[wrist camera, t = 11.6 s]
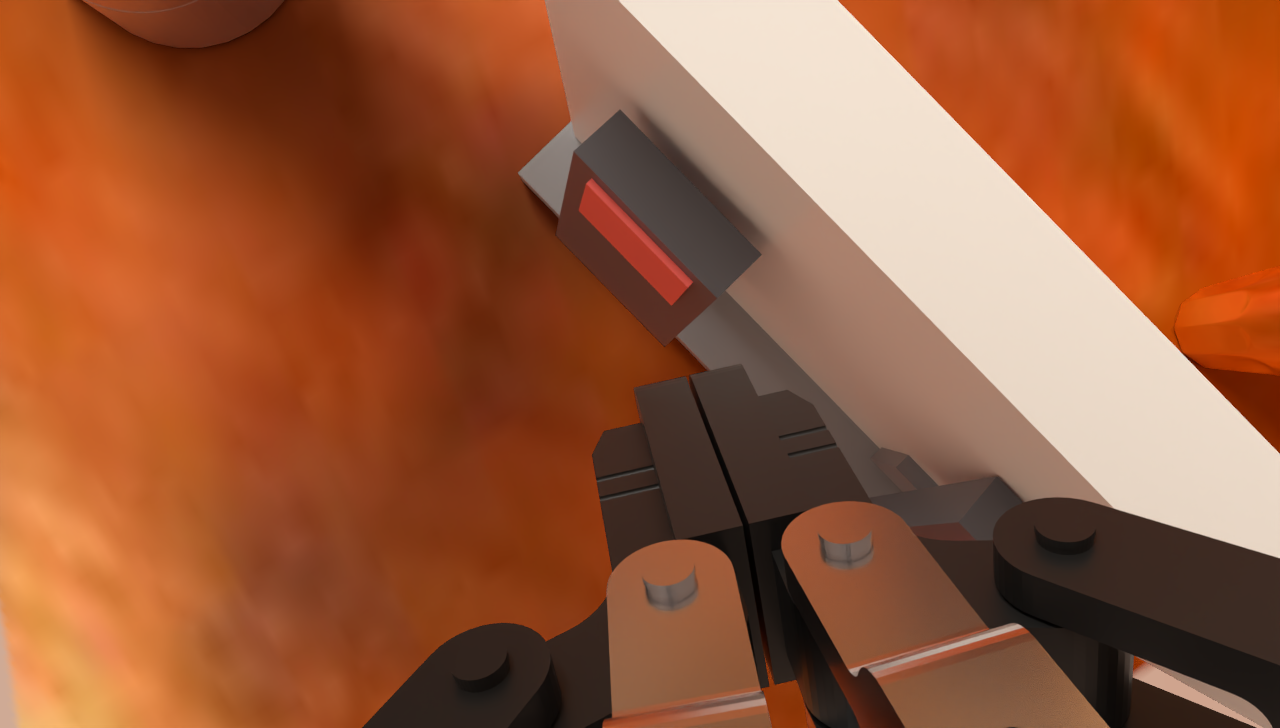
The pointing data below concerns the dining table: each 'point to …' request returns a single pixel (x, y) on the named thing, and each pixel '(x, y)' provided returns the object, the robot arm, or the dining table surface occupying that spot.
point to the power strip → (906, 273)
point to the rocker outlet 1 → (648, 230)
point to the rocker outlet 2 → (953, 509)
